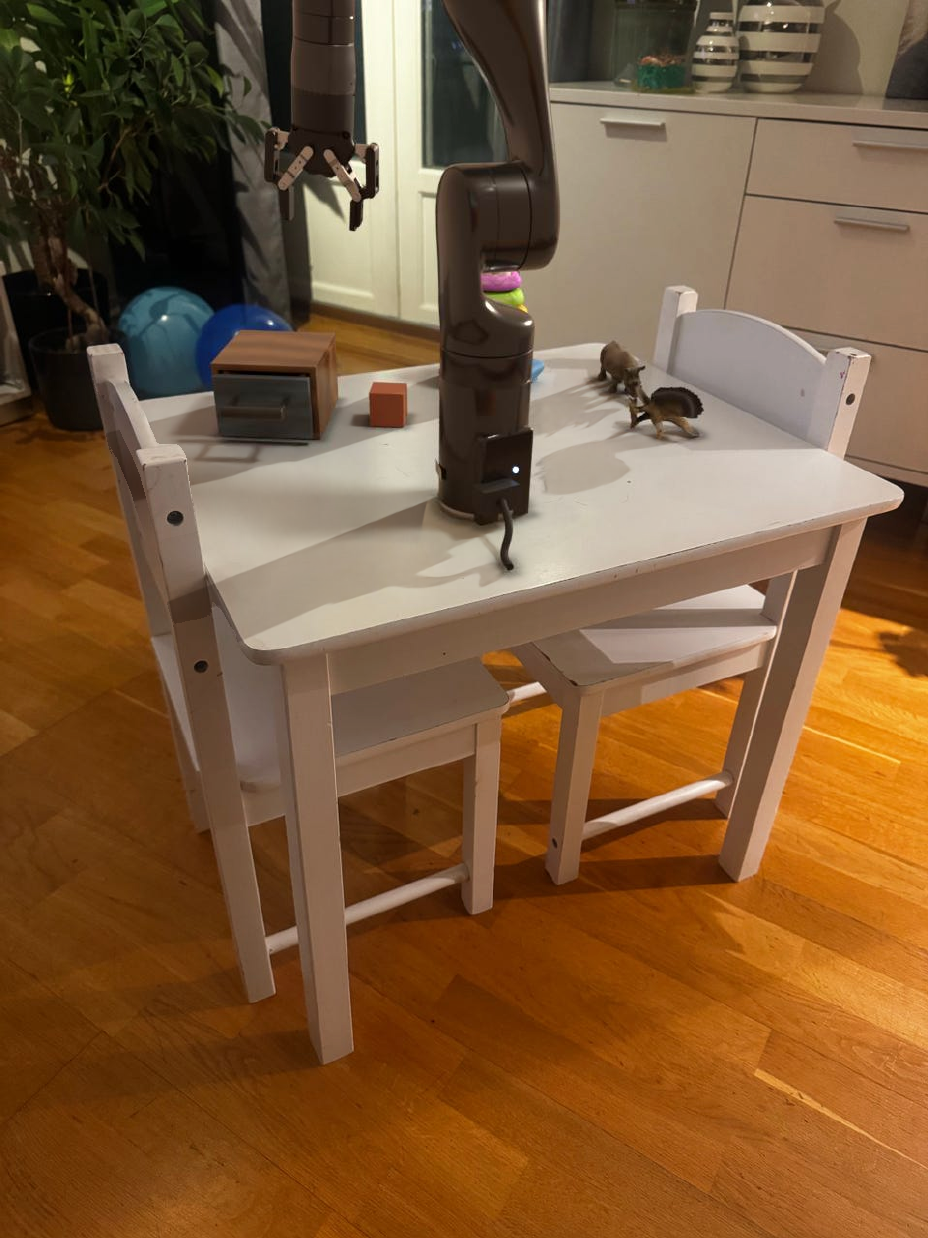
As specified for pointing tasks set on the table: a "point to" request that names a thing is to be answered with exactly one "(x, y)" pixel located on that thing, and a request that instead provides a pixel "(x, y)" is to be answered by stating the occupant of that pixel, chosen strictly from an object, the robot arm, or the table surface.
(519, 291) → the stacking toy
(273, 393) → the drawer
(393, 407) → the block
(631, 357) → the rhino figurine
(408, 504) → the table surface
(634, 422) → the brown plastic figure
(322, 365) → the cabinet
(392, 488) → the table surface
